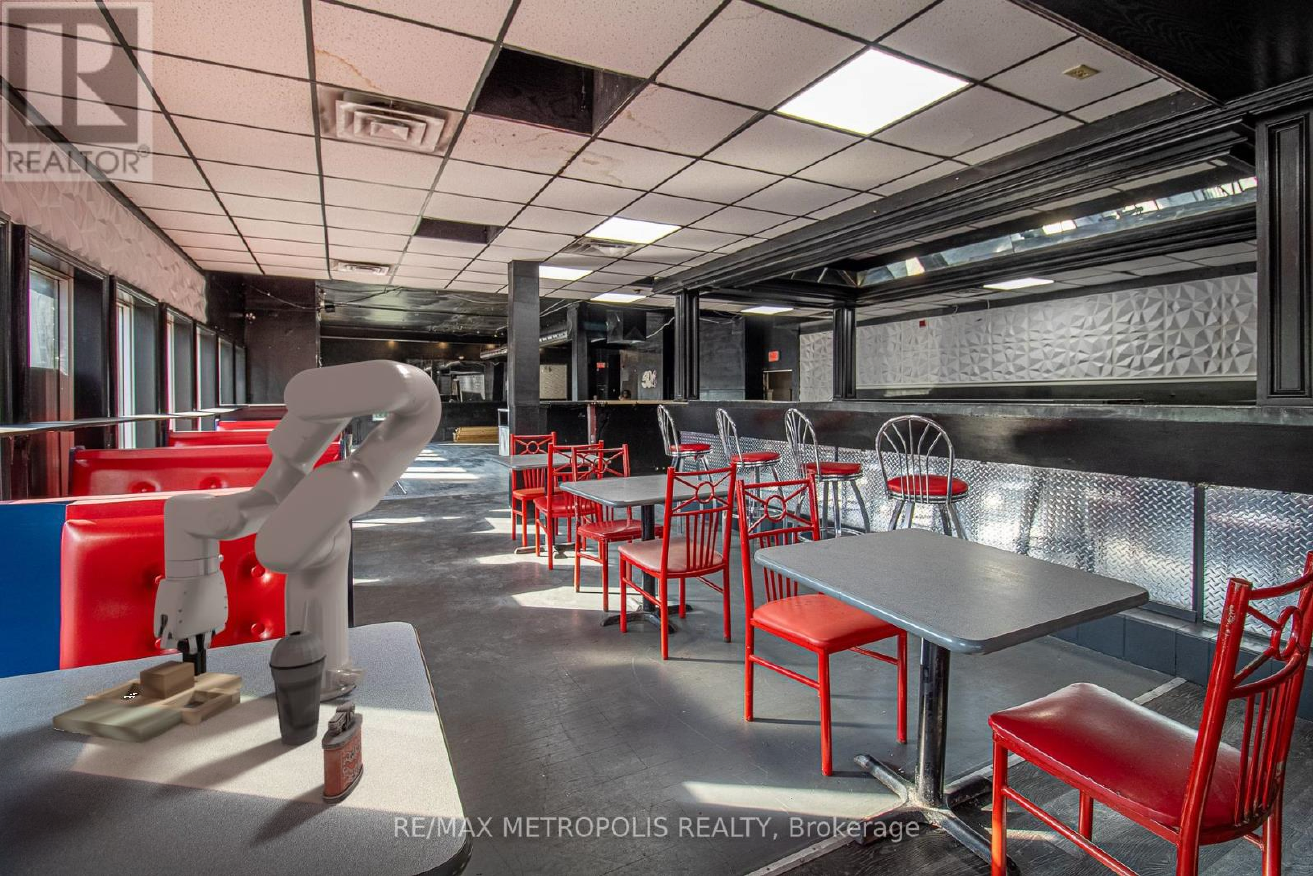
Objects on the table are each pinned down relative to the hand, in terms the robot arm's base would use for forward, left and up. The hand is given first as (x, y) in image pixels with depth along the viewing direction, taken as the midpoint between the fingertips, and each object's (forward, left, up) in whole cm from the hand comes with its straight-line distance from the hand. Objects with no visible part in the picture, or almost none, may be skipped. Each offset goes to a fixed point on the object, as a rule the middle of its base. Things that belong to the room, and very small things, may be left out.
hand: (194, 673), depth 109 cm
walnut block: (0, +5, -1) cm, 5 cm away
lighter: (-45, +18, -3) cm, 48 cm away
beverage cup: (-30, +9, -3) cm, 31 cm away
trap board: (0, +6, -3) cm, 7 cm away
